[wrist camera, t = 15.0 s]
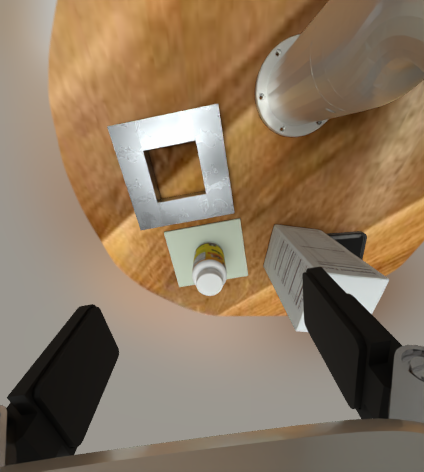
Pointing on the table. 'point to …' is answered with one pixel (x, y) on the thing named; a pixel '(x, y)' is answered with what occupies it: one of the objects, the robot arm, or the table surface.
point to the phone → (351, 241)
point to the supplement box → (314, 255)
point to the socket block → (168, 134)
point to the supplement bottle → (209, 268)
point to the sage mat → (190, 238)
